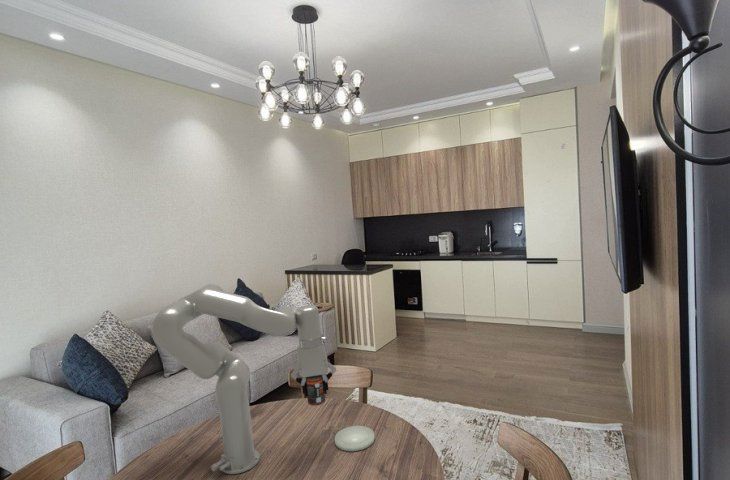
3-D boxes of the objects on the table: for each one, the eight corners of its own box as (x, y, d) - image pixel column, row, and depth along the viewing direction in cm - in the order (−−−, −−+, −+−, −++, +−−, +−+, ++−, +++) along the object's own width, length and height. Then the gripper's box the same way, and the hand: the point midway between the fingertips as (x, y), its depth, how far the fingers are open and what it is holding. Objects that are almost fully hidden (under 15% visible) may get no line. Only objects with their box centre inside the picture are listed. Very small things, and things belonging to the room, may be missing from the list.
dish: (358, 456, 131) (357, 451, 131) (326, 444, 140) (326, 440, 140) (382, 435, 142) (381, 431, 142) (351, 426, 151) (351, 422, 151)
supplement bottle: (324, 405, 133) (320, 372, 133) (306, 407, 134) (303, 374, 133) (326, 397, 139) (323, 365, 139) (309, 399, 140) (306, 367, 139)
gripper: (335, 335, 140) (340, 385, 141) (285, 342, 138) (290, 393, 139) (336, 342, 133) (342, 394, 134) (284, 349, 130) (289, 402, 131)
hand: (315, 393), depth 136 cm, fingers closed on supplement bottle, 6 cm apart
